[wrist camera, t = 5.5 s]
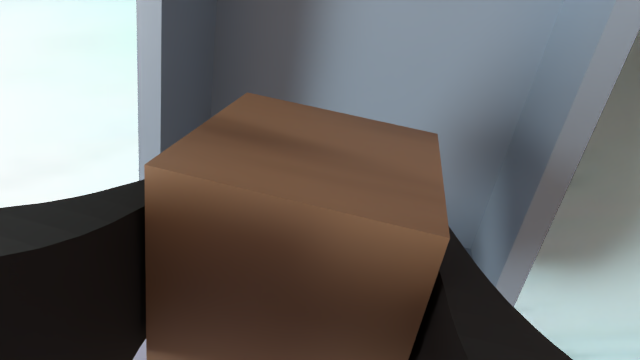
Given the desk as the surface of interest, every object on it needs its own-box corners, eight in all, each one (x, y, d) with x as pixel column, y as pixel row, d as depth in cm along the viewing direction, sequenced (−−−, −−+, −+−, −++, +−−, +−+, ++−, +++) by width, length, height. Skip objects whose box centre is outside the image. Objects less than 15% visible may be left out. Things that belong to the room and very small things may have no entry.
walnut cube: (391, 289, 14) (378, 445, 9) (232, 248, 14) (147, 377, 10) (437, 133, 11) (449, 237, 7) (246, 92, 12) (144, 164, 7)
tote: (481, 258, 20) (499, 338, 16) (196, 188, 22) (140, 244, 17) (679, -252, 13) (821, -372, 8) (220, -308, 14) (129, -436, 10)
